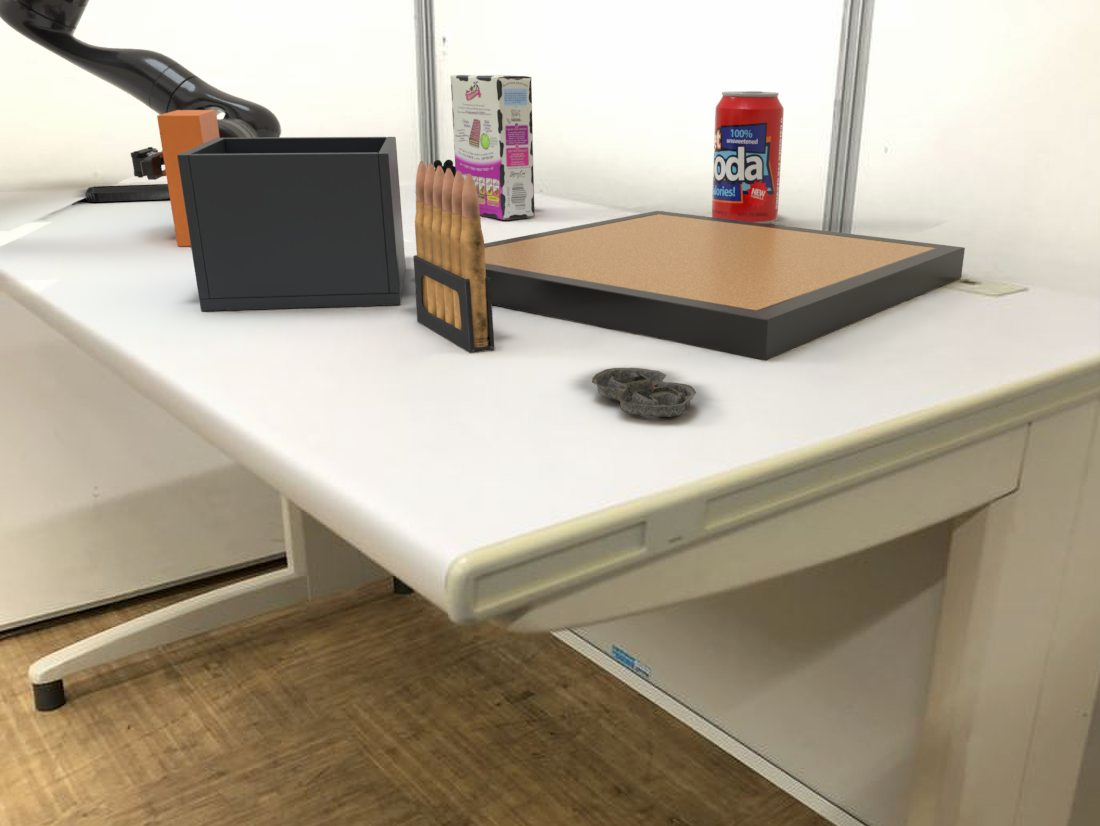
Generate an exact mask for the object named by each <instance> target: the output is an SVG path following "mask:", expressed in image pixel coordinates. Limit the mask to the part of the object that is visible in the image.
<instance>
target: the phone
mask: <svg viewBox="0 0 1100 826" xmlns="http://www.w3.org/2000/svg"><path fill="white" fill-rule="evenodd" d="M84 193H85V198H86V202H87V203H102V202H131V201H133V202H134V201H156V200H158V201H159V200H170V195H169V189H168V183H156V184H155V183H154V184H128V185H126V184H125V185H98V186H97V185H95V186H89V187H88V188H87V189H86V191H85V192H84Z"/></svg>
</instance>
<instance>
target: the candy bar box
mask: <svg viewBox="0 0 1100 826" xmlns="http://www.w3.org/2000/svg"><path fill="white" fill-rule="evenodd" d="M449 78H450V90H451V91H450V92H451V109H452V110H451V111H452V112H451V113H452V129H453V131H452V133H453V150H454V151H453V152H454V166H455V173H456V172H457V171H460V172H461V174H462V176H463V178H464V181H465V178H466V175H467V174H468V173H470V174H471V176H472V178H473V180H474V183H475V187H476V190H477V195H478V201H479V212H480V217H481V216H482V217H487V218H492V219H495V220H496V219H497V220H501V221H510V220H520V219H530V218H535V216H536V214H535V183H534V182H535V178H534V177H535V176H534V145H533V143H534V141H533V140H534V132H533V92H532V91H533V90H532V76H527V75H508V74H507V75H506V74H452V75H450V77H449Z"/></svg>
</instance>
